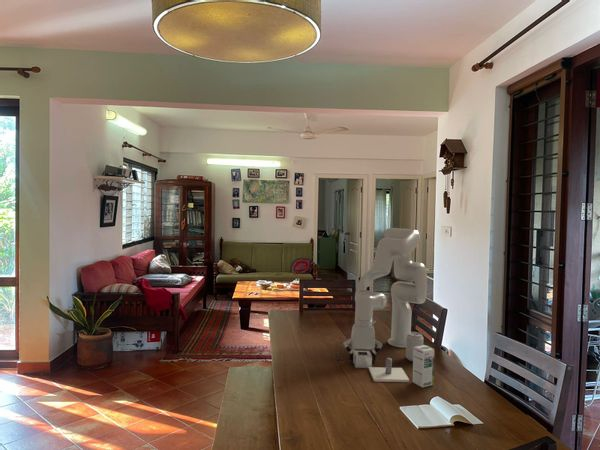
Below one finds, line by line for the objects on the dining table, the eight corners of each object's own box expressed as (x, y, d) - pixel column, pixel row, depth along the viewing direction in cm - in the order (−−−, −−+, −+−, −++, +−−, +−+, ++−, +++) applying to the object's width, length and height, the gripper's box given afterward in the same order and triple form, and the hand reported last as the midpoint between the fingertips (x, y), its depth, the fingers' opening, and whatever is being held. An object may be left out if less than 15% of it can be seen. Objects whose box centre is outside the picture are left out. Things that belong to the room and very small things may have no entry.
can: (423, 358, 191) (424, 332, 191) (421, 363, 184) (422, 337, 184) (407, 355, 194) (408, 330, 194) (404, 360, 188) (405, 334, 187)
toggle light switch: (401, 370, 176) (402, 354, 176) (409, 382, 164) (410, 364, 164) (368, 369, 176) (369, 353, 176) (374, 381, 164) (374, 364, 164)
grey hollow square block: (368, 361, 185) (369, 350, 184) (371, 368, 178) (372, 356, 177) (353, 361, 185) (353, 350, 184) (355, 367, 178) (355, 356, 177)
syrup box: (422, 388, 159) (424, 350, 159) (411, 382, 165) (413, 346, 164) (433, 385, 162) (435, 348, 161) (422, 379, 167) (424, 344, 167)
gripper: (381, 321, 184) (380, 359, 185) (342, 319, 184) (341, 358, 185) (385, 325, 177) (383, 365, 177) (344, 324, 176) (343, 364, 177)
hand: (362, 362), depth 181 cm, fingers open, 8 cm apart
